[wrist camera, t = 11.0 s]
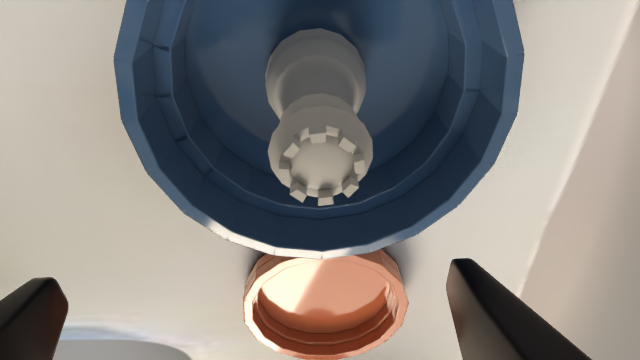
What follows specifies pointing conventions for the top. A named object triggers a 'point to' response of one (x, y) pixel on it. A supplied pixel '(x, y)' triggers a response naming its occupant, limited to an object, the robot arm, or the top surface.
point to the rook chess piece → (318, 115)
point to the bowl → (375, 112)
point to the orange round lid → (324, 304)
